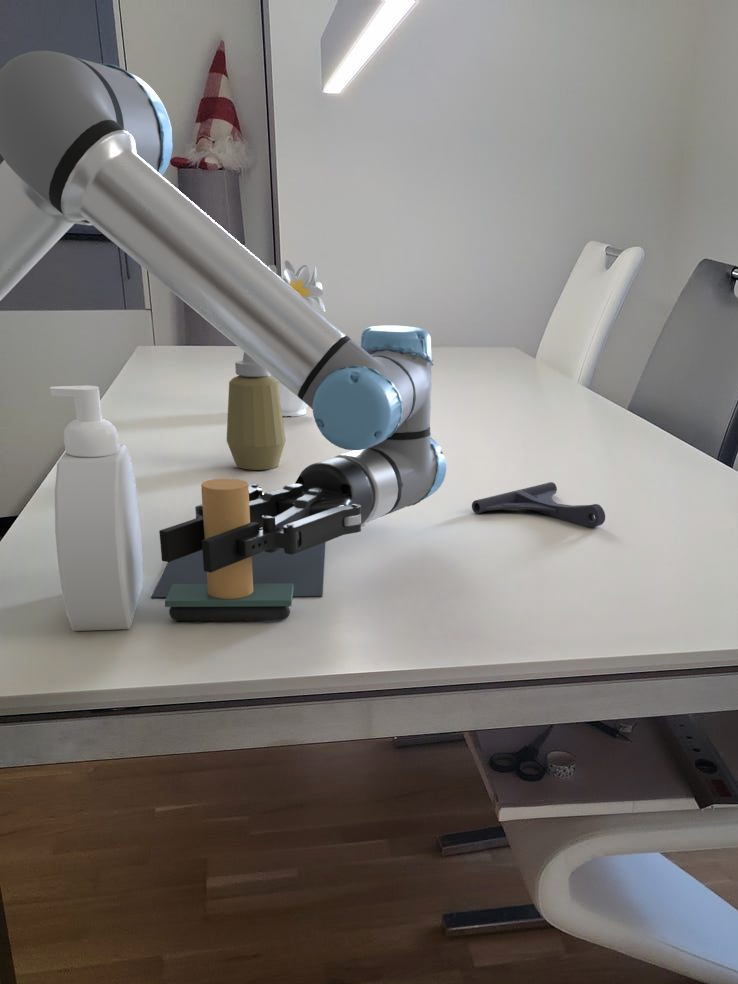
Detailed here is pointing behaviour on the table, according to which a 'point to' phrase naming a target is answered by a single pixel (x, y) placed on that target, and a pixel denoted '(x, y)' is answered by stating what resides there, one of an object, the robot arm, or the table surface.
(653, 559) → the table surface
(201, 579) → the wipe mat
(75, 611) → the soap bottle
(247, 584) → the wiper
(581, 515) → the bracket
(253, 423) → the squeeze bottle
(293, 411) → the flower vase
